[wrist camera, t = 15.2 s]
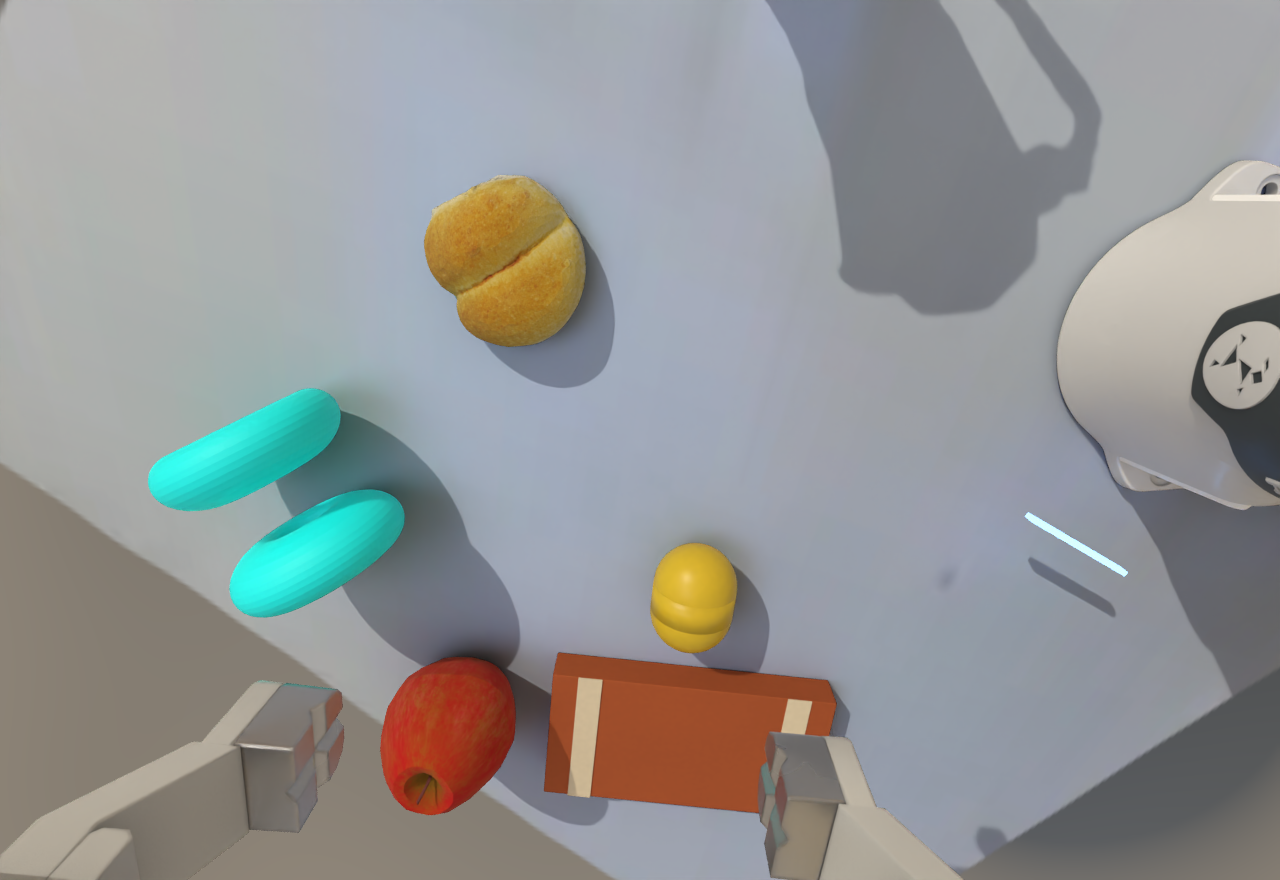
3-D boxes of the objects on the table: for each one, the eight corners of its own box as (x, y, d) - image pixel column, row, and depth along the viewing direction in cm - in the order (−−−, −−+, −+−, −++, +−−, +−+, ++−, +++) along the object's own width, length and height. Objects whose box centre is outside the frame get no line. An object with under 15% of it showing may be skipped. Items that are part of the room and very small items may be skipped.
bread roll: (495, 364, 40) (478, 379, 36) (412, 224, 38) (385, 225, 34) (616, 300, 39) (612, 309, 35) (539, 151, 36) (525, 144, 32)
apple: (501, 615, 45) (457, 729, 35) (545, 709, 48) (516, 842, 38) (393, 647, 46) (320, 768, 36) (442, 738, 49) (386, 874, 39)
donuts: (350, 365, 40) (257, 410, 31) (435, 503, 43) (373, 584, 33) (216, 431, 42) (88, 493, 32) (307, 561, 44) (213, 653, 35)
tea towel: (828, 680, 47) (837, 704, 44) (801, 791, 50) (809, 819, 47) (558, 652, 46) (552, 675, 44) (548, 765, 49) (543, 793, 47)
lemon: (645, 532, 42) (681, 574, 37) (717, 525, 44) (760, 564, 39) (632, 632, 44) (665, 683, 40) (701, 621, 46) (740, 668, 42)
